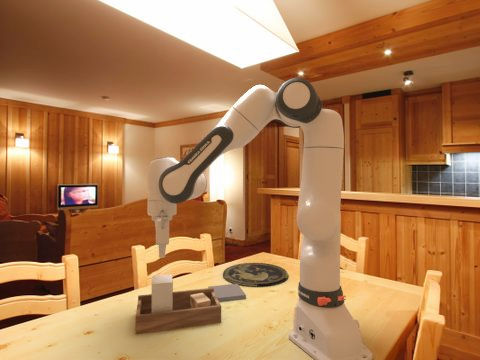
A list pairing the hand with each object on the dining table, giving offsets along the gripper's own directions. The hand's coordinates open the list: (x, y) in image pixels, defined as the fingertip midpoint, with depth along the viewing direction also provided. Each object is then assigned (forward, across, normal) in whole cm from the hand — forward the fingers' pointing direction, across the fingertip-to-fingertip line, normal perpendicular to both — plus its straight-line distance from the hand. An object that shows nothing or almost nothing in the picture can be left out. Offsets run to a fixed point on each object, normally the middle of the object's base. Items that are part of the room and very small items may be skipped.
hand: (161, 253), depth 91 cm
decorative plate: (+21, +32, -42) cm, 57 cm away
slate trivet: (+21, +14, -24) cm, 35 cm away
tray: (+21, 0, -5) cm, 22 cm away
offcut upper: (+18, 0, -12) cm, 22 cm away
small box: (+21, 0, 0) cm, 21 cm away
